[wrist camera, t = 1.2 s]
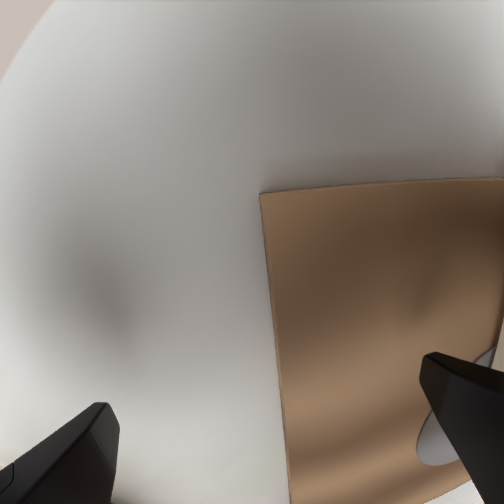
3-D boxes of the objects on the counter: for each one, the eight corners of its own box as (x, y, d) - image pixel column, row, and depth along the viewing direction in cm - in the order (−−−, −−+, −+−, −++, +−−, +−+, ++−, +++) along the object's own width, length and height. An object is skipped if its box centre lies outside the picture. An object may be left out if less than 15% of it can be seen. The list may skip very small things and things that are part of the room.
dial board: (532, 425, 15) (541, 434, 14) (292, 528, 14) (295, 544, 13) (590, 175, 10) (606, 178, 9) (257, 185, 9) (263, 187, 8)
